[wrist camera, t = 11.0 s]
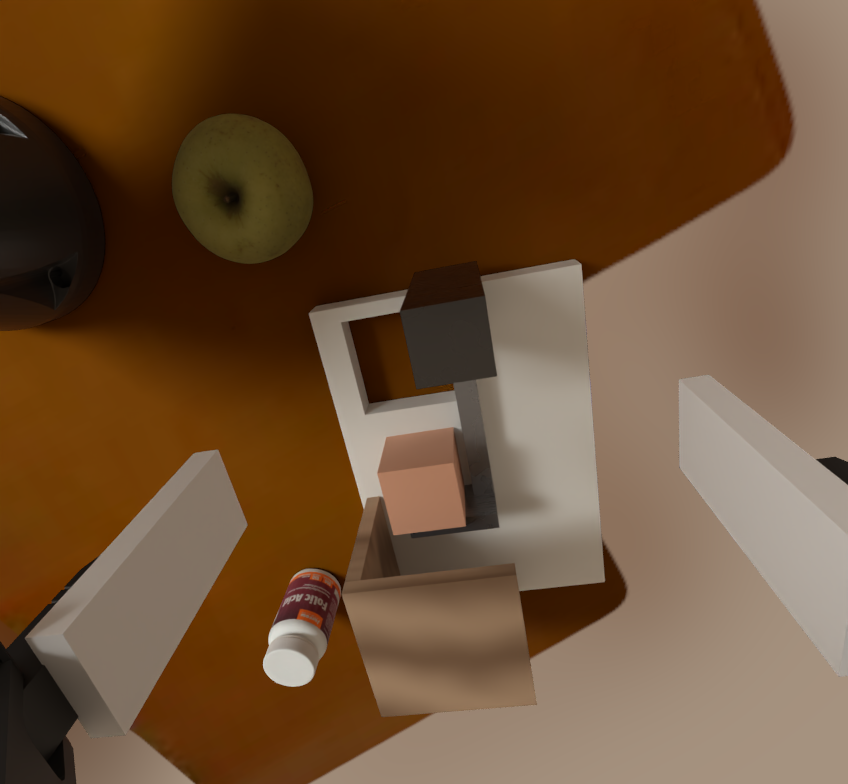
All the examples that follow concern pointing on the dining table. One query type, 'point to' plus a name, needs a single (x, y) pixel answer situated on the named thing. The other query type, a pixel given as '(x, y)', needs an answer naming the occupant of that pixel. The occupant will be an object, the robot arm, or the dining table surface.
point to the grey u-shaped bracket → (455, 368)
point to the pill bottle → (302, 627)
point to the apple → (242, 188)
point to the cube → (422, 481)
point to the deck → (494, 429)
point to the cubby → (435, 630)
